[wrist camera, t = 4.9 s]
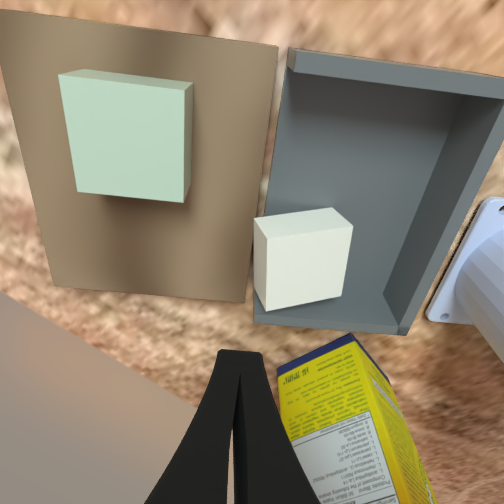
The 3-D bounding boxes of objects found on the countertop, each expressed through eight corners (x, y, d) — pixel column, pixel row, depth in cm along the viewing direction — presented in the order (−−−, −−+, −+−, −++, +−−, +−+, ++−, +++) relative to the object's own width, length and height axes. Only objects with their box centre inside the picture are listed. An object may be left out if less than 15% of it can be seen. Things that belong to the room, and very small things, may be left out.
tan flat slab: (276, 45, 14) (278, 46, 12) (244, 285, 20) (244, 302, 19) (12, 10, 13) (-14, 8, 12) (66, 269, 19) (53, 286, 18)
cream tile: (332, 207, 17) (353, 226, 15) (323, 273, 19) (341, 296, 17) (253, 218, 16) (267, 239, 14) (253, 286, 18) (265, 311, 17)
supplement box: (318, 408, 26) (354, 610, 17) (274, 366, 24) (289, 577, 15) (391, 378, 25) (474, 587, 15) (352, 329, 22) (424, 545, 13)
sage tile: (192, 82, 13) (184, 90, 11) (190, 183, 15) (183, 202, 13) (83, 68, 13) (58, 74, 11) (97, 173, 15) (77, 191, 13)
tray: (482, 73, 14) (532, 82, 12) (386, 298, 21) (406, 335, 18) (288, 47, 14) (297, 51, 11) (253, 286, 20) (253, 323, 18)
